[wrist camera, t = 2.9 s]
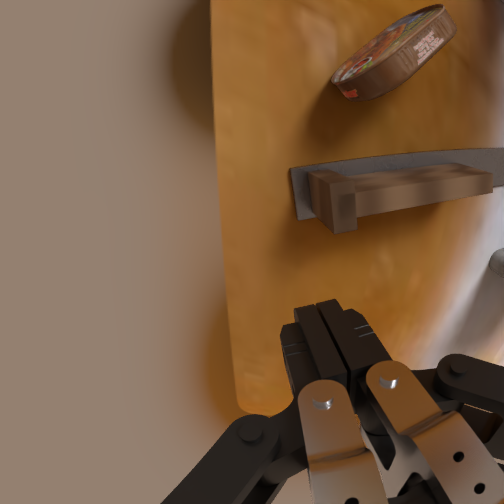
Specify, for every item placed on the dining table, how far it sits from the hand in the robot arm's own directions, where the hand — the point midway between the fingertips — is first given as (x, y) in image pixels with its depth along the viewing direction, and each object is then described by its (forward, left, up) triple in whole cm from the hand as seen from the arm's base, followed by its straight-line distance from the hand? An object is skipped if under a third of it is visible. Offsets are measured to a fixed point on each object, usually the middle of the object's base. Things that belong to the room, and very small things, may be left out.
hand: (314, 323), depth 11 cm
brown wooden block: (-15, 0, -19) cm, 24 cm away
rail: (-22, 0, -19) cm, 29 cm away
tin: (-15, -13, -19) cm, 27 cm away
